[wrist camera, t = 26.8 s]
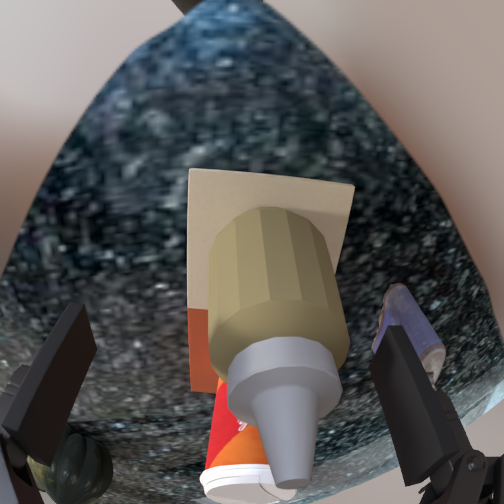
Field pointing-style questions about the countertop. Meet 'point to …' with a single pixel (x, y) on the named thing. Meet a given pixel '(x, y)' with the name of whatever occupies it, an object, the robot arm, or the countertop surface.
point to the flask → (411, 329)
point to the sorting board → (231, 206)
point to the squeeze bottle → (277, 333)
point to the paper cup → (237, 461)
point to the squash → (75, 470)
